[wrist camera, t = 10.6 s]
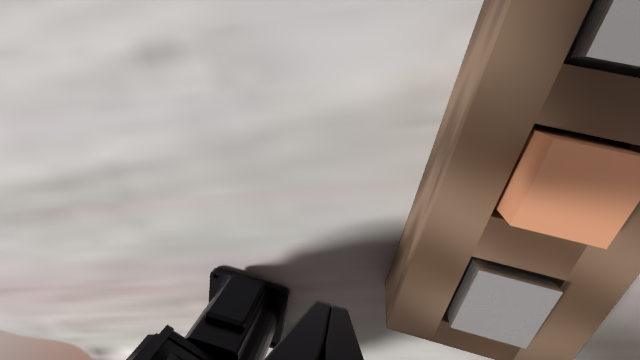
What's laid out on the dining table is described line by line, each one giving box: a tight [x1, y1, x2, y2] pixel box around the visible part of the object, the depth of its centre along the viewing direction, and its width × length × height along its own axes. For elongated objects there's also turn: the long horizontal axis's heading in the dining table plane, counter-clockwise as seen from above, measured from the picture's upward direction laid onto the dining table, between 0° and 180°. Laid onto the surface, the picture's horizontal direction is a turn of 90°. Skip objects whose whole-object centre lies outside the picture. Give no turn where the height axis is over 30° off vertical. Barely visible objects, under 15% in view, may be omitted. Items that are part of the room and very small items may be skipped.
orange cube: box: [495, 126, 640, 249], centre depth 14 cm, size 4×4×4 cm
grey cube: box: [446, 256, 563, 349], centre depth 17 cm, size 4×4×4 cm
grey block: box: [563, 0, 640, 76], centre depth 12 cm, size 4×4×4 cm
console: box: [385, 0, 640, 360], centre depth 15 cm, size 22×10×4 cm, turn 169°
